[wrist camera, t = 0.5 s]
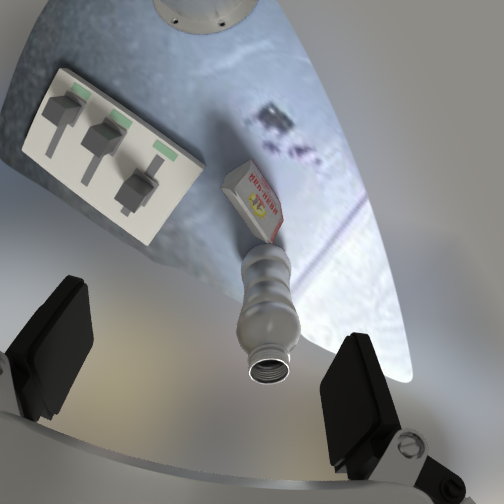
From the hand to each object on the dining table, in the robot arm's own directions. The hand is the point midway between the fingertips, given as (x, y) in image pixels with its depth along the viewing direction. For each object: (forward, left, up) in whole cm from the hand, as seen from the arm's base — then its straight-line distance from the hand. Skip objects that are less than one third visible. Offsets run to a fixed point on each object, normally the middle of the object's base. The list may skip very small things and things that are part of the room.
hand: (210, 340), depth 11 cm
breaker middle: (-10, -14, -28) cm, 33 cm away
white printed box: (+4, 0, -31) cm, 31 cm away
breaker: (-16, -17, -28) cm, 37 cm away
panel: (-8, -16, -31) cm, 36 cm away
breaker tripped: (-2, -13, -28) cm, 31 cm away
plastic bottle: (+14, -2, -31) cm, 34 cm away
